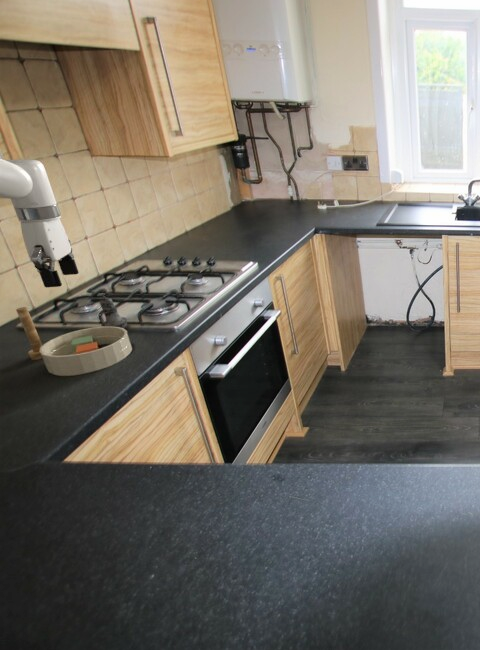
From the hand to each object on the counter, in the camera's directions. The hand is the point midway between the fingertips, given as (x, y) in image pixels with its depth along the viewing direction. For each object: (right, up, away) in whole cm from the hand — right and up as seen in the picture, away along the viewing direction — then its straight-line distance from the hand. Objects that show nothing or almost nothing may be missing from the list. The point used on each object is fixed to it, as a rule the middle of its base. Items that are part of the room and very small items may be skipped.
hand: (62, 280), depth 120 cm
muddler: (-10, -20, +5) cm, 23 cm away
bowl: (+4, -21, +4) cm, 22 cm away
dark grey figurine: (-1, -14, +19) cm, 24 cm away
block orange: (+5, -21, +3) cm, 21 cm away
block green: (+1, -19, +6) cm, 20 cm away
